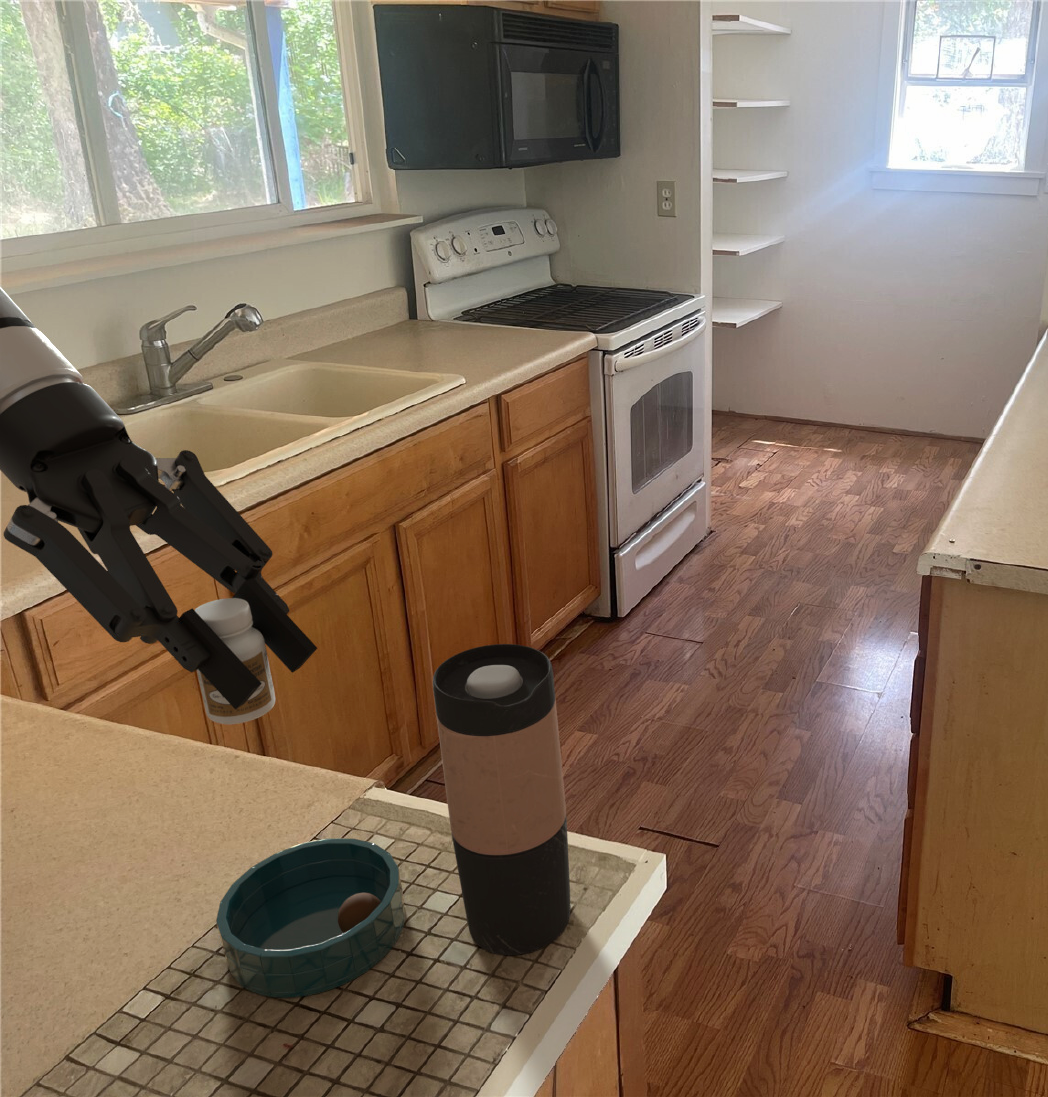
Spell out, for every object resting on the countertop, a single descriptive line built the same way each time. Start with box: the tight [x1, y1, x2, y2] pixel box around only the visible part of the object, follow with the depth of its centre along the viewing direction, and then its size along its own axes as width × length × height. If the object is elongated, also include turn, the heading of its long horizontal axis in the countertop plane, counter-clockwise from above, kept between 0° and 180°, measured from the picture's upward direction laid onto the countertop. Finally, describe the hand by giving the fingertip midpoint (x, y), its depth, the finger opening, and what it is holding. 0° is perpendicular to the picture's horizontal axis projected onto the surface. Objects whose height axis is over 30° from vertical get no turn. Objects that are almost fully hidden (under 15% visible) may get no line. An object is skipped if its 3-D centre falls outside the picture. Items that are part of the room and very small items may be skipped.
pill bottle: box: [194, 597, 276, 725], centre depth 69 cm, size 4×4×8 cm
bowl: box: [215, 837, 406, 999], centre depth 71 cm, size 12×12×4 cm
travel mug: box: [432, 643, 571, 956], centre depth 69 cm, size 8×8×20 cm
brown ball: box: [338, 893, 381, 933], centre depth 70 cm, size 3×3×3 cm
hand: (277, 677), depth 68 cm, fingers closed on pill bottle, 4 cm apart
